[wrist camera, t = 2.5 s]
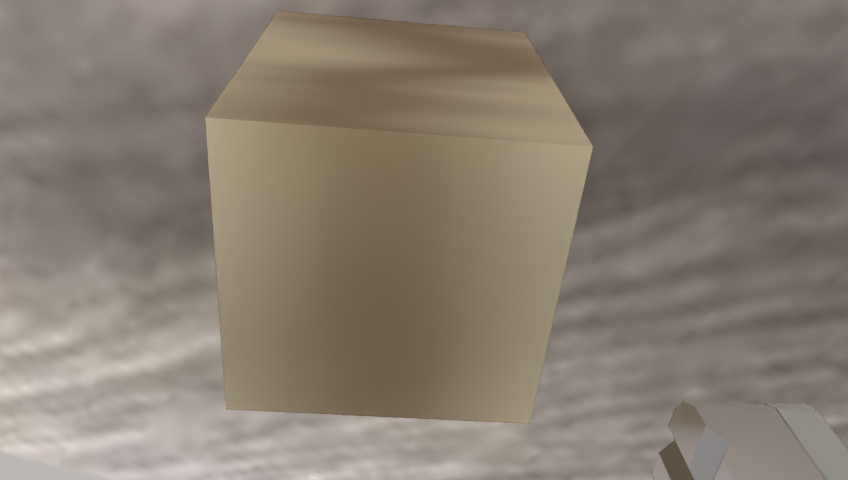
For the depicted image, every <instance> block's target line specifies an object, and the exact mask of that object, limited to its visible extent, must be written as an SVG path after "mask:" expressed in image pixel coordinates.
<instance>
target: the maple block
mask: <svg viewBox="0 0 848 480" xmlns="http://www.w3.org/2000/svg"><path fill="white" fill-rule="evenodd" d="M205 124H206V138H207V152H208V166H209V179H210V193H211V207H212V221H213V235H214V249H215V262H216V276H217V290H218V304H219V318H220V332H221V345H222V359H223V373H224V387H225V401H226V409H230V410H251V411H272V412H293V413H314V414H335V415H356V416H377V417H398V418H419V419H440V420H462V421H483V422H504V423H525V424H530V420H531V415H532V411H533V407H534V402H535V398H536V394H537V389H538V385H539V381H540V376H541V372H542V368H543V363H544V359H545V354H546V350H547V346H548V341H549V337H550V333H551V328H552V324H553V320H554V315H555V311H556V306H557V302H558V298H559V293H560V289H561V285H562V280H563V276H564V272H565V267H566V263H567V258H568V254H569V250H570V245H571V241H572V237H573V232H574V228H575V224H576V219H577V215H578V211H579V206H580V202H581V197H582V193H583V189H584V184H585V180H586V176H587V171H588V167H589V163H590V158H591V154H592V149H593V146H592V144H591V142H590V141H589V139H588V137H587V136H586V134H585V132H584V131H583V129H582V127H581V126H580V124H579V122H578V121H577V119H576V117H575V115H574V114H573V112H572V110H571V109H570V107H569V105H568V104H567V102H566V100H565V99H564V97H563V95H562V94H561V92H560V90H559V89H558V87H557V85H556V84H555V82H554V80H553V79H552V77H551V75H550V73H549V72H548V70H547V68H546V67H545V65H544V63H543V62H542V60H541V58H540V57H539V55H538V53H537V52H536V50H535V48H534V47H533V45H532V43H531V42H530V40H529V38H528V37H527V35H526V33H525V32H516V31H505V30H493V29H481V28H470V27H458V26H447V25H435V24H423V23H412V22H400V21H389V20H377V19H365V18H354V17H342V16H331V15H319V14H307V13H296V12H284V11H278V12H277V13H276V15H275V16H274V18H273V19H272V21H271V22H270V24H269V25H268V26H267V28H266V29H265V31H264V32H263V34H262V35H261V37H260V38H259V40H258V41H257V42H256V44H255V45H254V47H253V48H252V50H251V51H250V53H249V54H248V56H247V57H246V59H245V60H244V61H243V63H242V64H241V66H240V67H239V69H238V70H237V72H236V73H235V75H234V76H233V77H232V79H231V80H230V82H229V83H228V85H227V86H226V88H225V89H224V91H223V92H222V94H221V95H220V96H219V98H218V99H217V101H216V102H215V104H214V105H213V107H212V108H211V110H210V111H209V113H208V114H207V115H206V117H205Z"/></svg>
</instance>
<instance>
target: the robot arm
mask: <svg viewBox="0 0 848 480" xmlns="http://www.w3.org/2000/svg"><path fill="white" fill-rule="evenodd" d="M669 428H670V430H671V432H672V434H673V436H674V438H675V441H673V442H672V443H671V444H669V445H668V446H667V447H666V448H664V449H663V450H662V451H660V452H659V454H658V457H657V460H656V463H655V467H654V470H653V480H848V450H847V448H846V447H845V446H844V445H843V443H842V442H841V441H840V439H839V438H838V437H837V435H836V434H835V433H834V431H833V430H832V429H831V427H830V426H829V425H828V423H827V422H826V421H825V420H824V418H823V417H822V416H821V414H820V413H819V412H818V411H817V410H816V409H814V408H812V407H811V406H809V405H808V404H790V403H764V404H759V403H723V402H685V401H683V402H682V403H681V404H680V405H679V406H678V407H677V408H676V409H675V410H674V413H673V415H672V418H671V421H670V423H669Z"/></svg>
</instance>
